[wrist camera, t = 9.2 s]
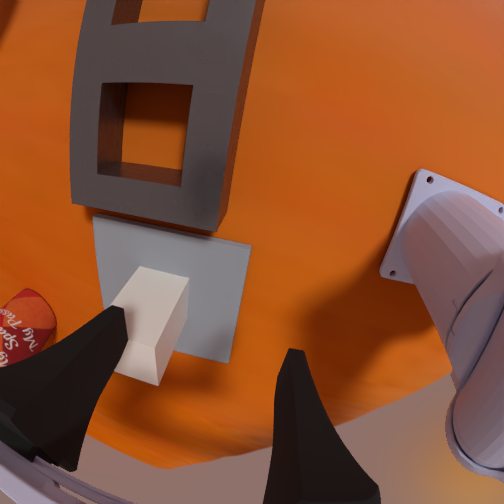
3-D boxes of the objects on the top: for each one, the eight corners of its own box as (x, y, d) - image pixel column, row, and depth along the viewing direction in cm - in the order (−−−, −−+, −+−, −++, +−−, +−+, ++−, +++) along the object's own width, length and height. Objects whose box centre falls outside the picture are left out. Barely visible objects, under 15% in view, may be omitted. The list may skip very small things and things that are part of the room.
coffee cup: (64, 303, 26) (-16, 411, 13) (65, 346, 30) (7, 438, 17) (11, 267, 25) (-71, 353, 12) (17, 313, 29) (-45, 392, 16)
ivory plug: (189, 278, 21) (154, 348, 15) (187, 317, 23) (158, 386, 17) (139, 265, 22) (93, 328, 16) (141, 305, 24) (105, 367, 18)
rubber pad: (252, 245, 20) (250, 249, 20) (229, 358, 26) (228, 363, 26) (96, 212, 20) (92, 216, 20) (111, 326, 26) (108, 330, 26)
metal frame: (281, -72, 9) (279, -95, 7) (226, 212, 19) (216, 232, 17) (134, -66, 9) (114, -80, 7) (95, 188, 19) (71, 203, 17)
